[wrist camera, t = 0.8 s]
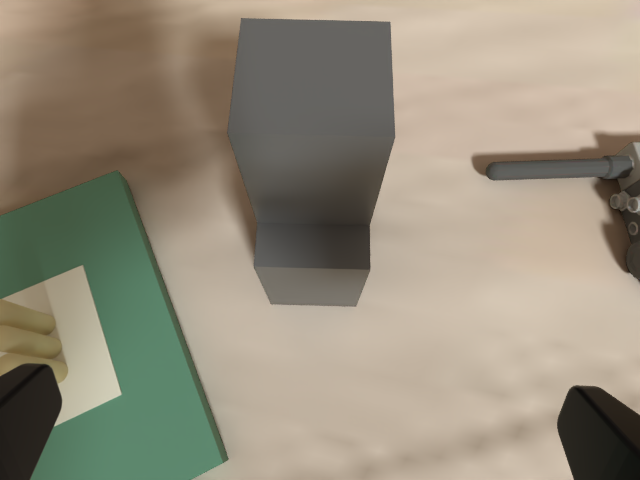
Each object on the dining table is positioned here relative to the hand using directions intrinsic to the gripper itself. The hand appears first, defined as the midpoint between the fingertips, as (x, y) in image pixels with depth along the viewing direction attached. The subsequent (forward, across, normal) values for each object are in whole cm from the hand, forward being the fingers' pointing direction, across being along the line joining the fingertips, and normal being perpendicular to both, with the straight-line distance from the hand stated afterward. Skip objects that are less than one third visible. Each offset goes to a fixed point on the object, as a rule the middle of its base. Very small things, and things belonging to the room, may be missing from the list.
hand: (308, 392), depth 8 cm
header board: (+11, +12, +9) cm, 19 cm away
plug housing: (+15, 0, +5) cm, 16 cm away
